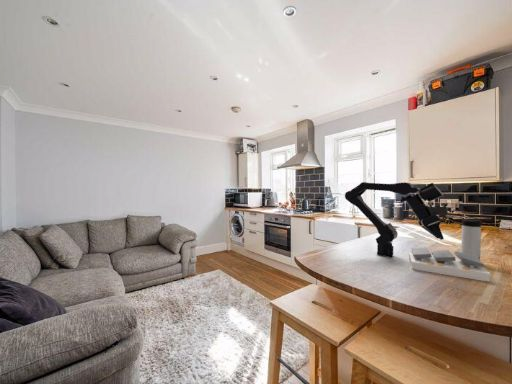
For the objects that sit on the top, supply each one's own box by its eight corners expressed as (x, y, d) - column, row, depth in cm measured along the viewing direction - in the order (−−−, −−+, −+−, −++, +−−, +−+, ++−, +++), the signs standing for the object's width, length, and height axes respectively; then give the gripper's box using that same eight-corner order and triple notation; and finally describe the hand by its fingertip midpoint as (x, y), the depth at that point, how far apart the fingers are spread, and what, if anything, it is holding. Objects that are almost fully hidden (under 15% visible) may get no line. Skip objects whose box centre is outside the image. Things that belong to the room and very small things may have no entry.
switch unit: (411, 268, 90) (412, 259, 89) (408, 258, 102) (408, 250, 102) (490, 281, 77) (490, 270, 77) (475, 268, 90) (475, 258, 90)
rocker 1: (414, 257, 92) (413, 254, 92) (411, 251, 101) (411, 248, 101) (431, 257, 89) (430, 253, 89) (427, 250, 98) (426, 247, 98)
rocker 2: (436, 261, 88) (435, 257, 88) (431, 253, 97) (431, 250, 97) (455, 260, 85) (455, 257, 85) (449, 253, 94) (448, 250, 94)
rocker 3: (461, 261, 84) (462, 258, 84) (454, 254, 93) (455, 251, 93) (482, 267, 81) (483, 264, 81) (472, 259, 90) (473, 256, 90)
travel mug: (485, 264, 95) (486, 219, 94) (467, 263, 96) (468, 219, 95) (473, 260, 101) (474, 217, 100) (457, 259, 102) (458, 217, 101)
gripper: (441, 196, 87) (468, 231, 81) (434, 200, 102) (456, 230, 97) (412, 208, 92) (436, 243, 86) (409, 210, 107) (429, 240, 102)
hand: (440, 238), depth 93 cm, fingers open, 9 cm apart
